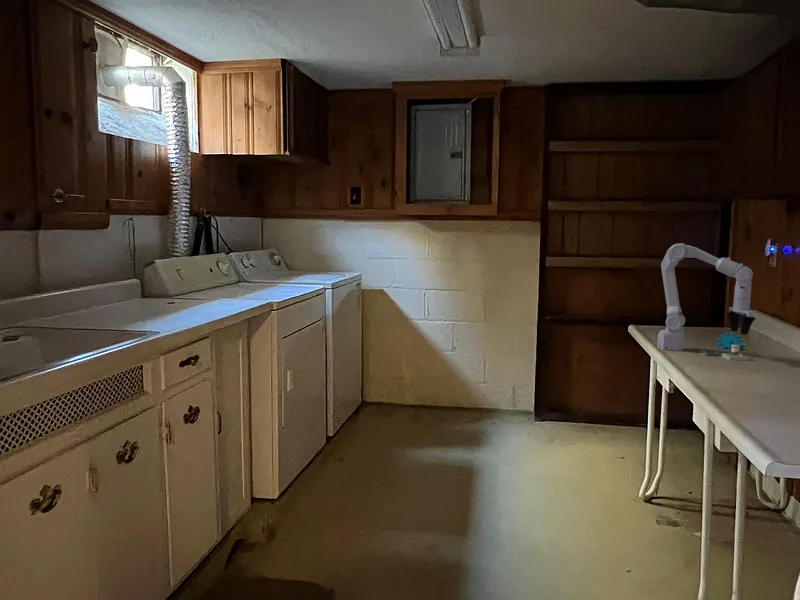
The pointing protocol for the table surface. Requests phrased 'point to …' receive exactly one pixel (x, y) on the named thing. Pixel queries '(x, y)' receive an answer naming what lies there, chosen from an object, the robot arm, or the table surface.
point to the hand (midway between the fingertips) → (739, 332)
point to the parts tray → (729, 357)
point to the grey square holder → (710, 353)
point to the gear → (730, 341)
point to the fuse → (734, 350)
